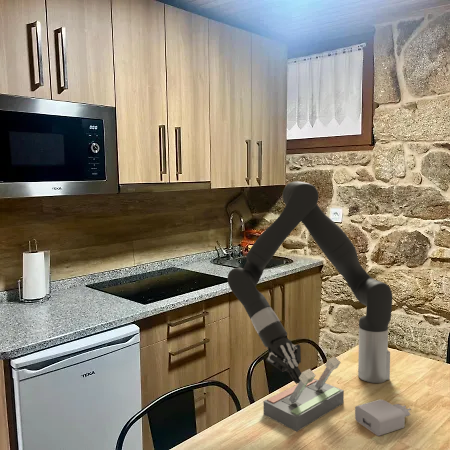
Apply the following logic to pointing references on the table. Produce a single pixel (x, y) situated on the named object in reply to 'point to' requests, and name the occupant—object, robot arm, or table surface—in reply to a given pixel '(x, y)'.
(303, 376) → the switch lever
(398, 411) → the charger
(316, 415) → the switch box
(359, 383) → the table surface
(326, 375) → the lever on
